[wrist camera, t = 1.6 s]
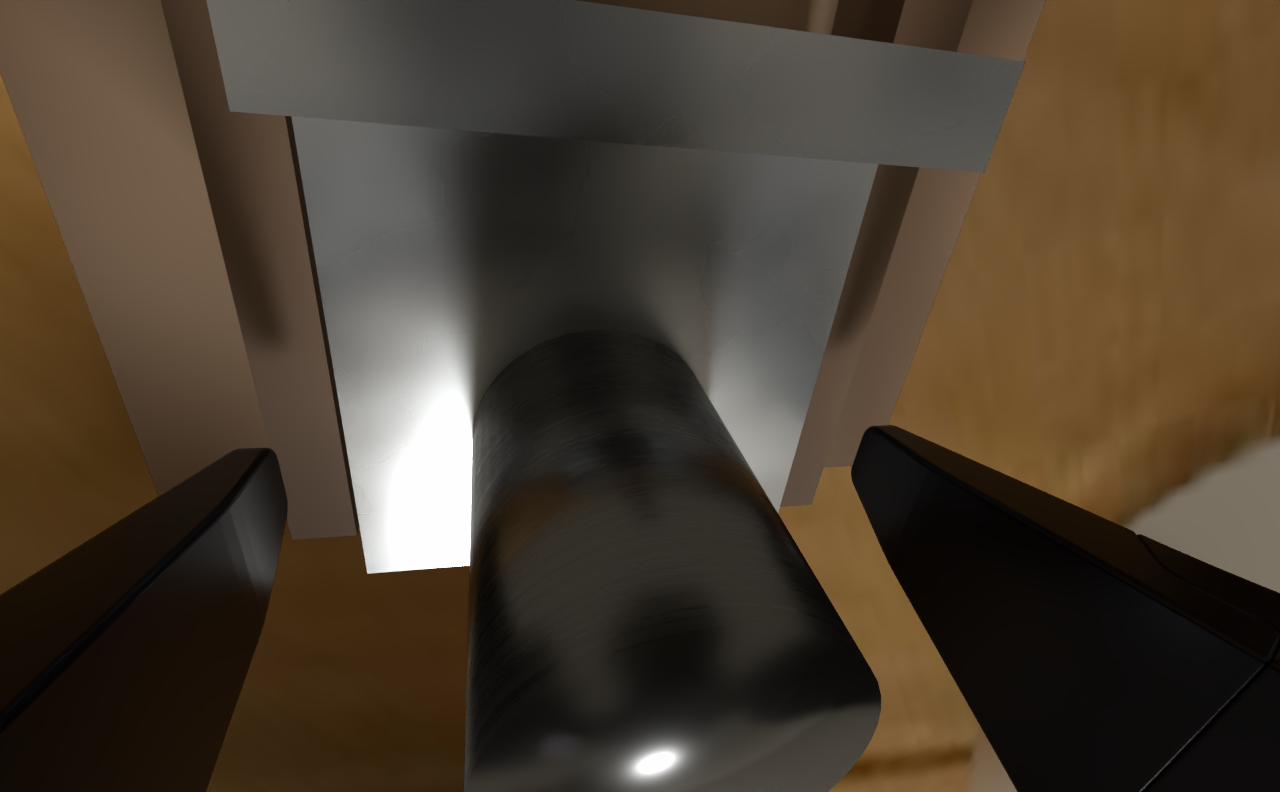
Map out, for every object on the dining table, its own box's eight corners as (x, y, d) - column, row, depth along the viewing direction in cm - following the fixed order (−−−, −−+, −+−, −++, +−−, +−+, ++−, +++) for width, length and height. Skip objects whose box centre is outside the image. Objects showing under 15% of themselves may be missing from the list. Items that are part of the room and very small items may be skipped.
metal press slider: (819, 46, 9) (1455, 96, 3) (727, 463, 13) (935, 838, 7) (323, -19, 8) (-308, -171, 2) (386, 479, 12) (281, 984, 6)
